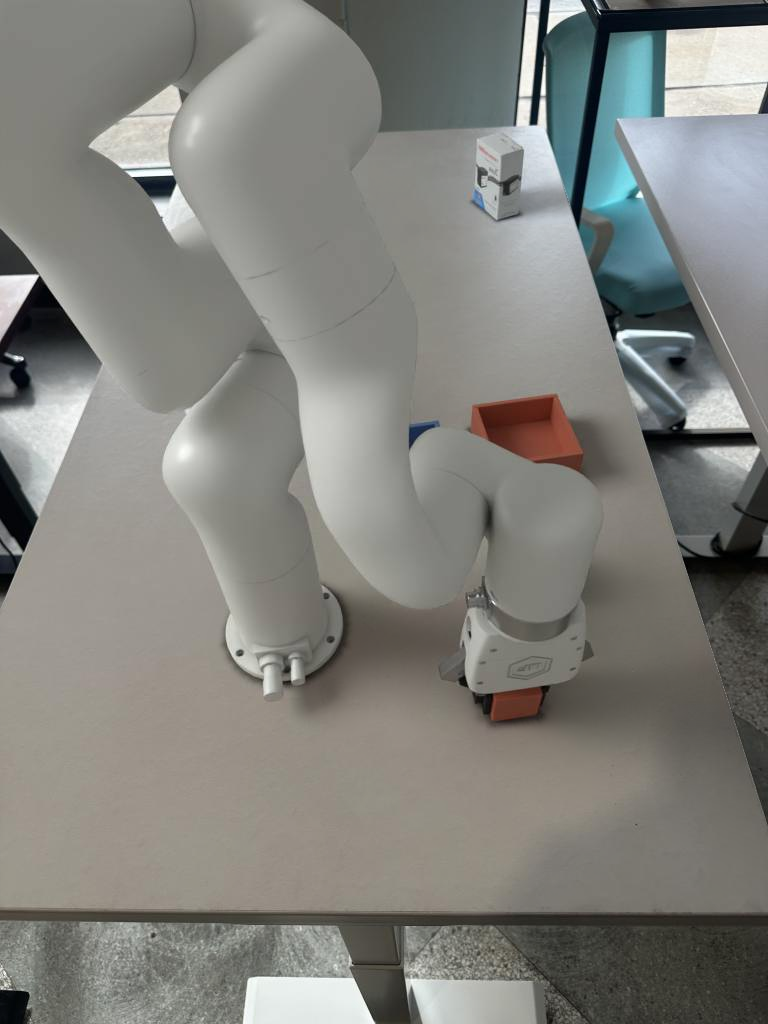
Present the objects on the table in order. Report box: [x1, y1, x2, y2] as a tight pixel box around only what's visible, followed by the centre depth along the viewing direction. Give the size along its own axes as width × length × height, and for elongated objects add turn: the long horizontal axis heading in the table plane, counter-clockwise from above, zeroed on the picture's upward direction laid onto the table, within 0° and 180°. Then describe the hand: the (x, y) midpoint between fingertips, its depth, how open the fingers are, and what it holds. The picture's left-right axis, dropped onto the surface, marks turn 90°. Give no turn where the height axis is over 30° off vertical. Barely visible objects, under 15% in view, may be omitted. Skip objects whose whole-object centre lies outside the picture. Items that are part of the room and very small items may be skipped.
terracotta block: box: [489, 686, 542, 722], centre depth 71 cm, size 4×4×4 cm
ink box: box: [473, 131, 525, 221], centre depth 131 cm, size 8×5×12 cm, turn 25°
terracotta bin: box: [470, 393, 585, 473], centre depth 93 cm, size 11×11×4 cm
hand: (508, 695), depth 72 cm, fingers closed on terracotta block, 4 cm apart
